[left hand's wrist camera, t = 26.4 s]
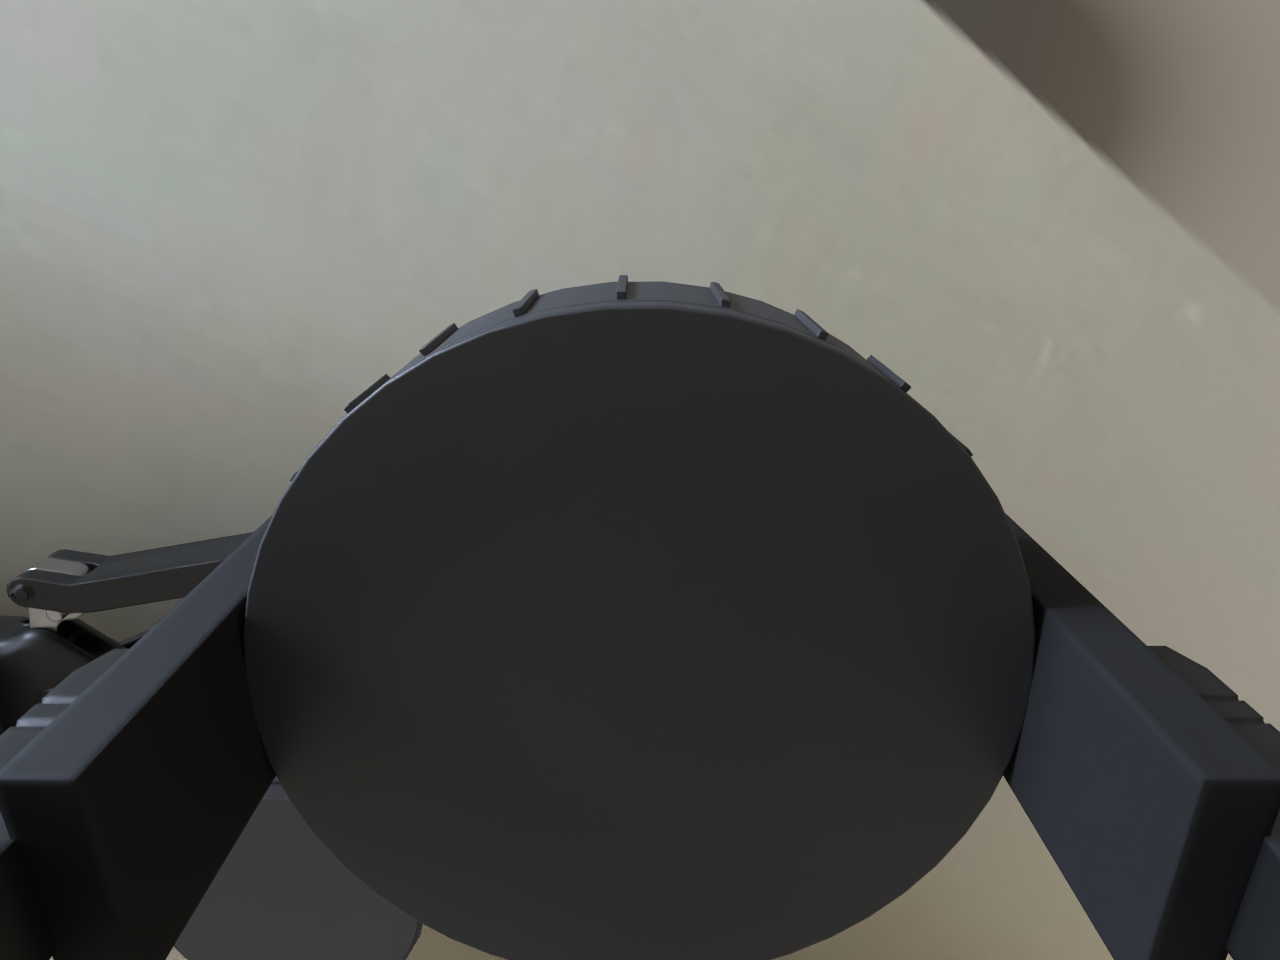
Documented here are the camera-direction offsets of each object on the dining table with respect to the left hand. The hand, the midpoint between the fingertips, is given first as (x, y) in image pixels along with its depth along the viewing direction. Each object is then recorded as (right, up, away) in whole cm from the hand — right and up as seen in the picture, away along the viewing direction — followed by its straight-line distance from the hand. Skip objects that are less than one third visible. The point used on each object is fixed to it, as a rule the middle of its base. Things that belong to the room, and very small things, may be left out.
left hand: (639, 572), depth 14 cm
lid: (0, -1, -3) cm, 3 cm away
